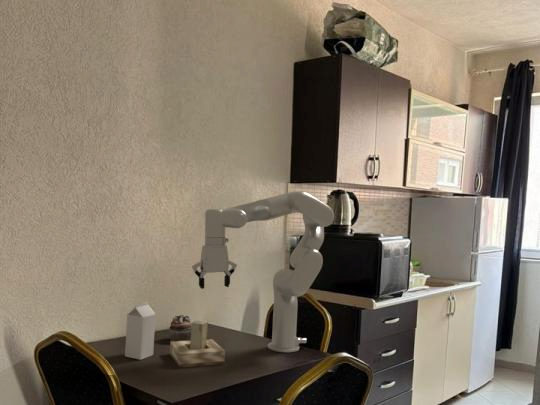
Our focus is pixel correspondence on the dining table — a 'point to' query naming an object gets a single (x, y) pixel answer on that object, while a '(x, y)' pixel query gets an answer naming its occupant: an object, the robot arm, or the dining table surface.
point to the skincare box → (198, 335)
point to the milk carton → (140, 332)
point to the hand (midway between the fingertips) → (214, 287)
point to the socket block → (196, 354)
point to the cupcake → (180, 328)
